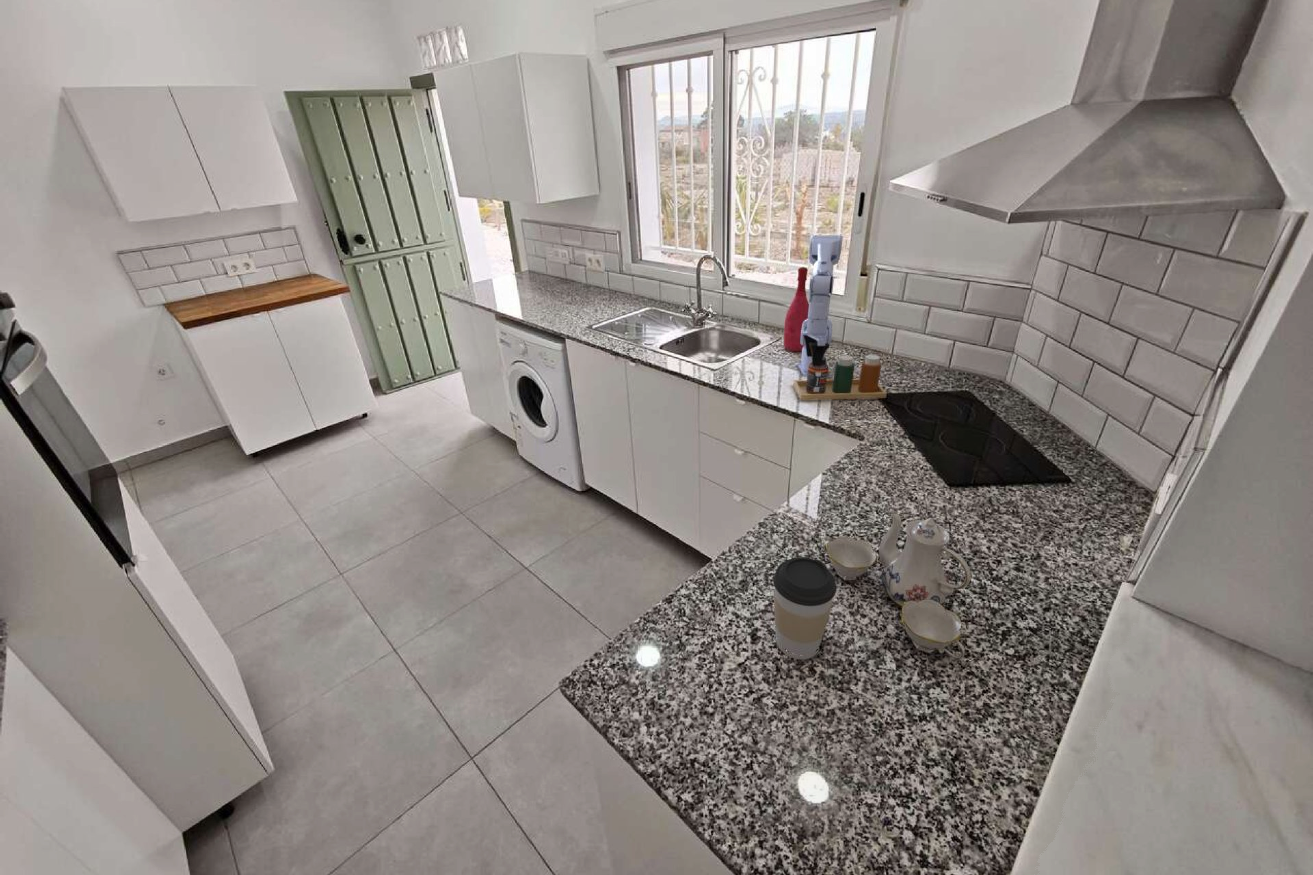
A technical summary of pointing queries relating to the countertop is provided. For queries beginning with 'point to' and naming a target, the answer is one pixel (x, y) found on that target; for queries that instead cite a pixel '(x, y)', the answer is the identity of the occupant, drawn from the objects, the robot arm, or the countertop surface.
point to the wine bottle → (796, 314)
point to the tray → (829, 394)
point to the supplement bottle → (817, 378)
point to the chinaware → (910, 578)
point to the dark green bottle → (843, 375)
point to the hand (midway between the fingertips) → (813, 360)
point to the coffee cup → (802, 605)
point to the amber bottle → (870, 374)
